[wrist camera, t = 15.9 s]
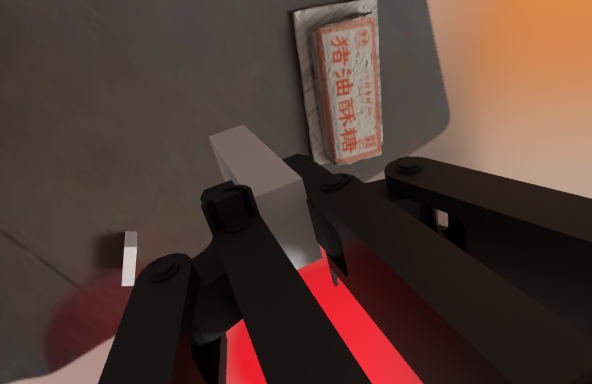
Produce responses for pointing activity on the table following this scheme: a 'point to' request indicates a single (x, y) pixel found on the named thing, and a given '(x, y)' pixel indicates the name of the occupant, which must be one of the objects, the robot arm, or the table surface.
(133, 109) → the table surface
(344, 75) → the packaged product
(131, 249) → the eraser
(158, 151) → the table surface
